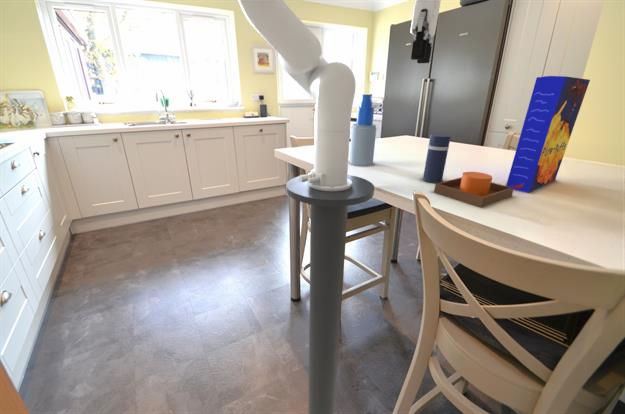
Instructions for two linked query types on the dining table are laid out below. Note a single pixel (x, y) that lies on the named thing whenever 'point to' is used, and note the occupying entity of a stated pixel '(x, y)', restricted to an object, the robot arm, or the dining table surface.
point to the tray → (494, 194)
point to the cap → (476, 183)
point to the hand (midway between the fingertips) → (420, 61)
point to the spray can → (436, 158)
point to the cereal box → (546, 131)
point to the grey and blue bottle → (363, 134)
